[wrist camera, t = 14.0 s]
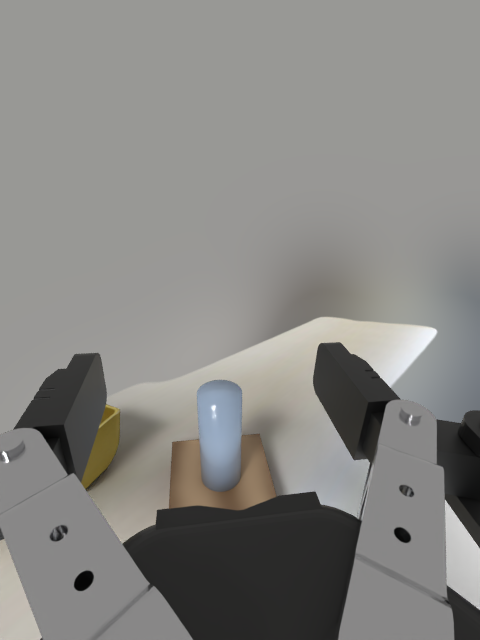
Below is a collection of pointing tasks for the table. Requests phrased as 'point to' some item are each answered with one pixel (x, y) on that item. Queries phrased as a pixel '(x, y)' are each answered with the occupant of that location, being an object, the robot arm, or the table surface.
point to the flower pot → (103, 445)
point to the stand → (193, 492)
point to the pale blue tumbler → (220, 434)
